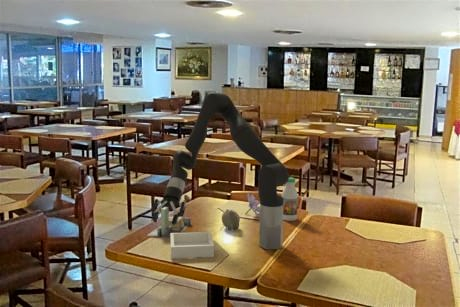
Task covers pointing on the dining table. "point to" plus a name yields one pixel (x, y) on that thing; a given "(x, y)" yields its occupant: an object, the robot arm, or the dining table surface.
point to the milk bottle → (290, 201)
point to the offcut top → (177, 221)
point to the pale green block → (164, 219)
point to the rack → (169, 230)
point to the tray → (191, 245)
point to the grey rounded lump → (230, 219)
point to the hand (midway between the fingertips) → (163, 222)
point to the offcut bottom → (177, 226)
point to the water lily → (253, 205)
